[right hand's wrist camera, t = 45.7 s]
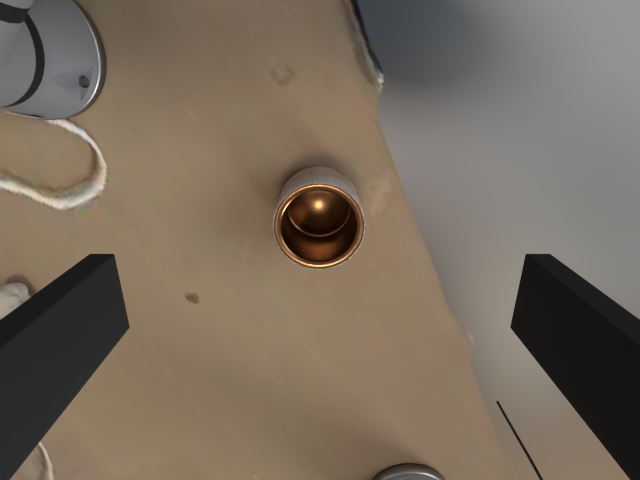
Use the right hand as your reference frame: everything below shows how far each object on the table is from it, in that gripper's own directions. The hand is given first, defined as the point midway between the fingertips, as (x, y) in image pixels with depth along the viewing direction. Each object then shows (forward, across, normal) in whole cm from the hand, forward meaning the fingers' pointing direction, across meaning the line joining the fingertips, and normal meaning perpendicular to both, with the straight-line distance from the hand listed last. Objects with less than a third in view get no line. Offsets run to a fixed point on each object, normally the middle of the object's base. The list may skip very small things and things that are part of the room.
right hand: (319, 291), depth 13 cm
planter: (+41, 0, -9) cm, 42 cm away
